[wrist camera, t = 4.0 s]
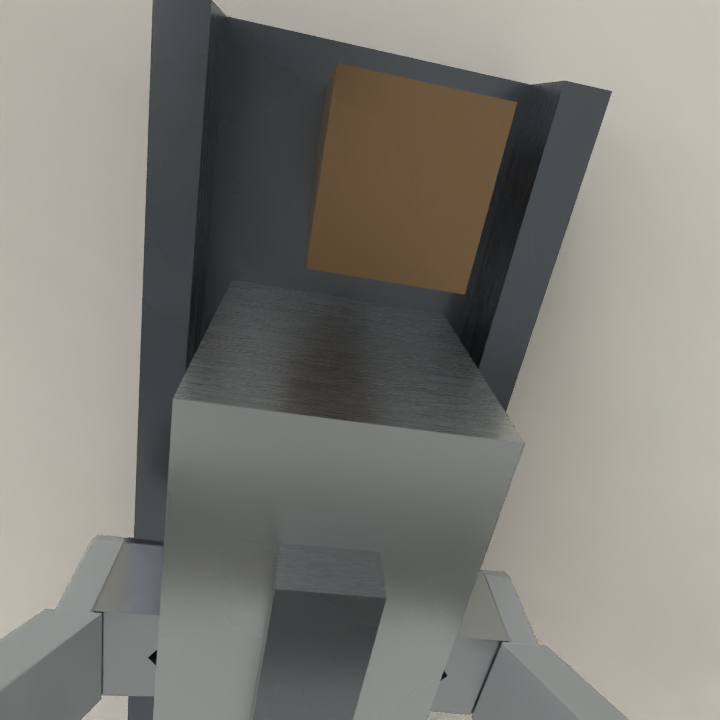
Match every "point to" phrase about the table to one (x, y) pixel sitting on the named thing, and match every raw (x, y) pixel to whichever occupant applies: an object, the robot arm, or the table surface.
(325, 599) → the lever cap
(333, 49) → the dark grey channel holder
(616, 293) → the table surface
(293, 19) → the table surface
